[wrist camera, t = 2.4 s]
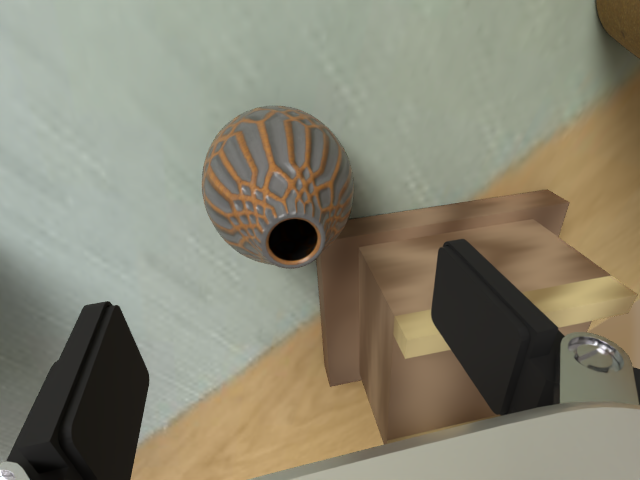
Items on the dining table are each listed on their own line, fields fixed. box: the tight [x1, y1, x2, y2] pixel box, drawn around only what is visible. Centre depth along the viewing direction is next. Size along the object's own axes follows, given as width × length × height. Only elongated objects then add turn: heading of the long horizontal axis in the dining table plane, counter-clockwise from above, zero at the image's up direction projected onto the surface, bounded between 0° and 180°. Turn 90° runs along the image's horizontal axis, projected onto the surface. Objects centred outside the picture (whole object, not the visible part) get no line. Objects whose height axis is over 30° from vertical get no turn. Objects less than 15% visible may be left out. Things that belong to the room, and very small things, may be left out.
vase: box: [202, 106, 354, 268], centre depth 18 cm, size 7×7×9 cm
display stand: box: [316, 190, 638, 445], centre depth 24 cm, size 16×13×10 cm
